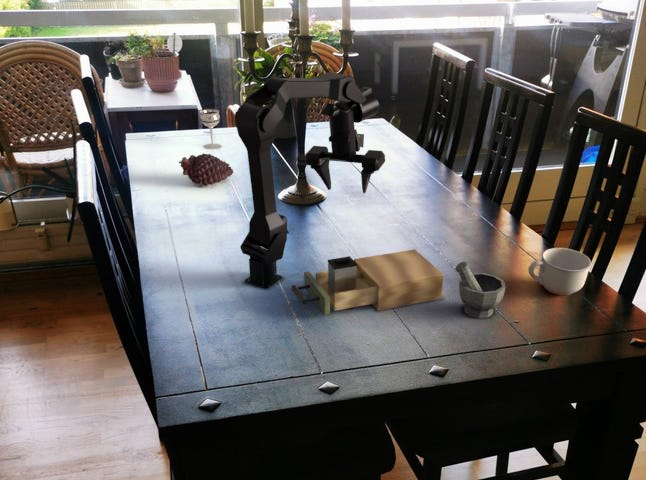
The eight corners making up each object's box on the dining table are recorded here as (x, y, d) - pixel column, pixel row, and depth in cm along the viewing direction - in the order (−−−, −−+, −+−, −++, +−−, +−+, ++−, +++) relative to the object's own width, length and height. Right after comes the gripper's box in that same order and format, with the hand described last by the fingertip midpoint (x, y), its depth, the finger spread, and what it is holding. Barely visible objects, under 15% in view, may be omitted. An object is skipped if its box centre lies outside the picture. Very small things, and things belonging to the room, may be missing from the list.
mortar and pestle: (491, 298, 164) (498, 249, 157) (508, 319, 156) (516, 268, 149) (443, 303, 162) (449, 253, 155) (458, 324, 154) (465, 273, 147)
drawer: (306, 319, 153) (306, 301, 151) (287, 292, 163) (286, 274, 161) (386, 304, 159) (387, 286, 157) (363, 279, 169) (363, 262, 167)
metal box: (334, 298, 159) (334, 264, 154) (327, 290, 162) (327, 256, 157) (356, 295, 160) (357, 261, 156) (348, 286, 164) (349, 253, 159)
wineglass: (226, 145, 257) (223, 110, 250) (213, 150, 252) (210, 115, 245) (211, 142, 260) (208, 108, 253) (198, 147, 255) (195, 112, 248)
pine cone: (223, 172, 233) (235, 149, 225) (231, 196, 229) (243, 173, 221) (170, 166, 223) (181, 142, 215) (178, 191, 218) (189, 167, 211)
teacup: (575, 278, 173) (582, 247, 168) (590, 300, 164) (598, 268, 159) (517, 278, 172) (522, 247, 168) (529, 300, 163) (535, 268, 159)
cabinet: (378, 310, 158) (379, 285, 155) (352, 283, 169) (353, 259, 166) (441, 298, 163) (443, 274, 160) (412, 272, 174) (414, 249, 171)
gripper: (391, 118, 173) (393, 180, 182) (318, 114, 179) (324, 173, 188) (375, 137, 165) (379, 200, 174) (300, 131, 171) (307, 193, 181)
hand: (347, 190), depth 180 cm, fingers open, 9 cm apart
